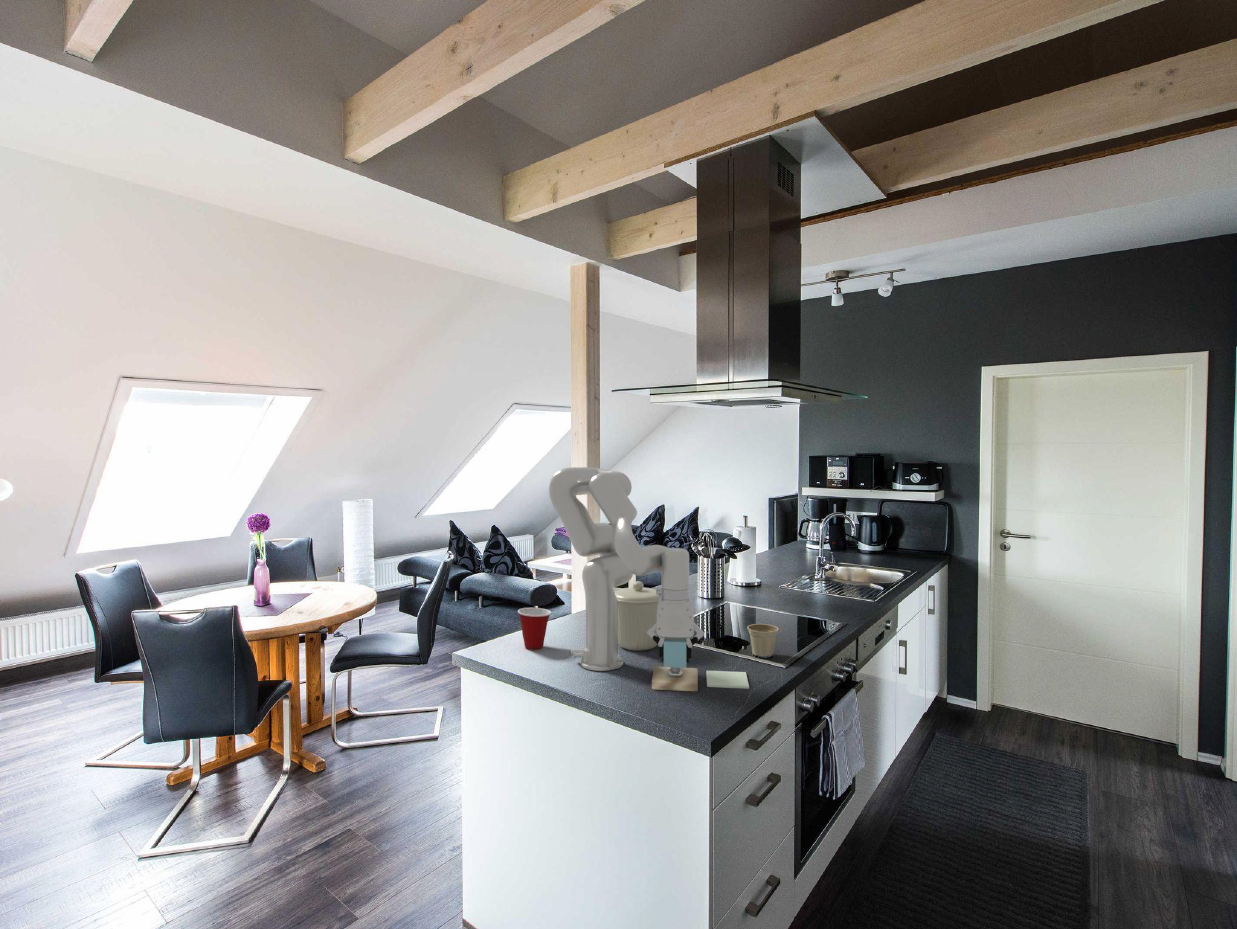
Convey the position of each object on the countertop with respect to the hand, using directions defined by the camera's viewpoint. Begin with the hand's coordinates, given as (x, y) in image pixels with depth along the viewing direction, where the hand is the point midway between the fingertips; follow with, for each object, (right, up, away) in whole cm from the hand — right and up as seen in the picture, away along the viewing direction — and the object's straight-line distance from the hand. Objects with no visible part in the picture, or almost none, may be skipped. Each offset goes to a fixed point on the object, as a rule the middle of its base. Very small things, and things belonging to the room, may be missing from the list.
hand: (675, 659), depth 170 cm
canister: (-9, -6, +32) cm, 34 cm away
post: (0, -4, 0) cm, 4 cm away
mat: (+14, -6, +1) cm, 16 cm away
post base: (0, -6, 0) cm, 6 cm away
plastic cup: (-43, -6, +32) cm, 53 cm away
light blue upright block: (0, -1, 0) cm, 1 cm away
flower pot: (+29, -6, +23) cm, 37 cm away
